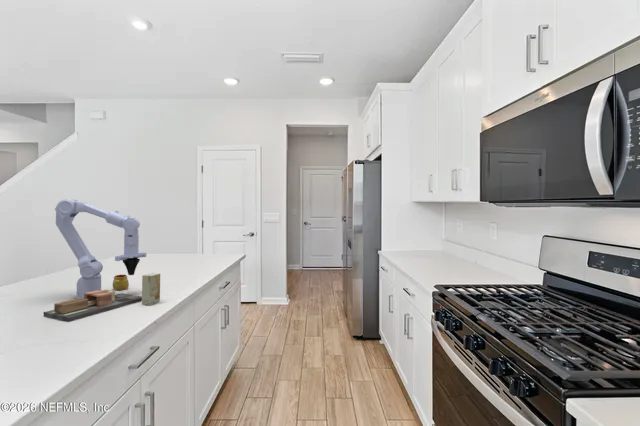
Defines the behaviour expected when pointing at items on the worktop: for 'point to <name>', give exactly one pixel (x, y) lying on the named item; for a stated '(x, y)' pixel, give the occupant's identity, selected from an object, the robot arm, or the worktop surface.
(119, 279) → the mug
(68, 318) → the plate
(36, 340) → the worktop surface
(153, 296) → the skincare box
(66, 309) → the tan wooden brick
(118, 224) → the robot arm
